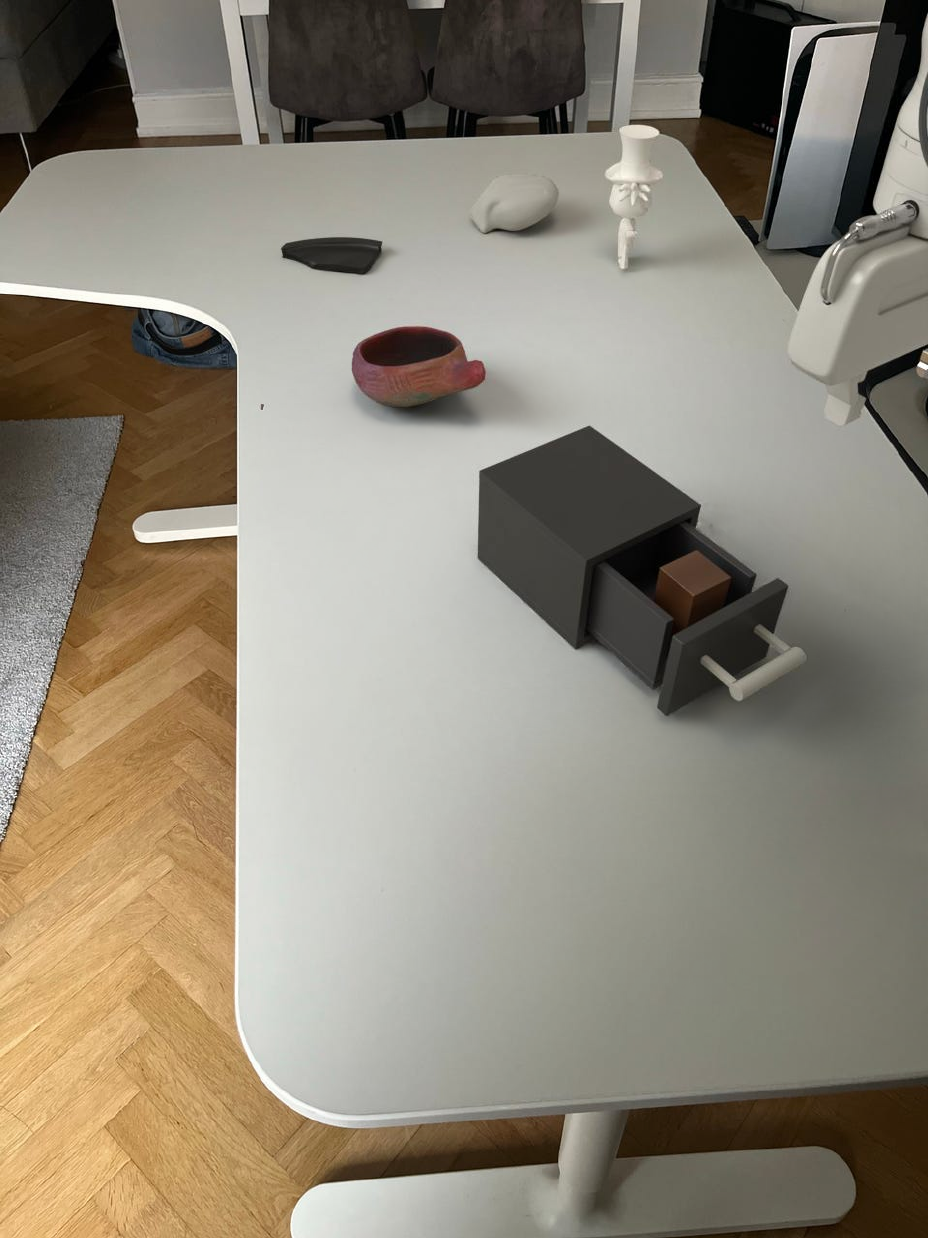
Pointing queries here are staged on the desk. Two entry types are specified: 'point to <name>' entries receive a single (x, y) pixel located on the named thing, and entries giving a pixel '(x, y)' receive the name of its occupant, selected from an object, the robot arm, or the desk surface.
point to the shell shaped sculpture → (514, 202)
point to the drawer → (704, 647)
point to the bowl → (413, 366)
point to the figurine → (632, 183)
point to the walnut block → (690, 590)
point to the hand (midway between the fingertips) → (887, 397)
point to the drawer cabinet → (569, 521)
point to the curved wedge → (334, 253)
